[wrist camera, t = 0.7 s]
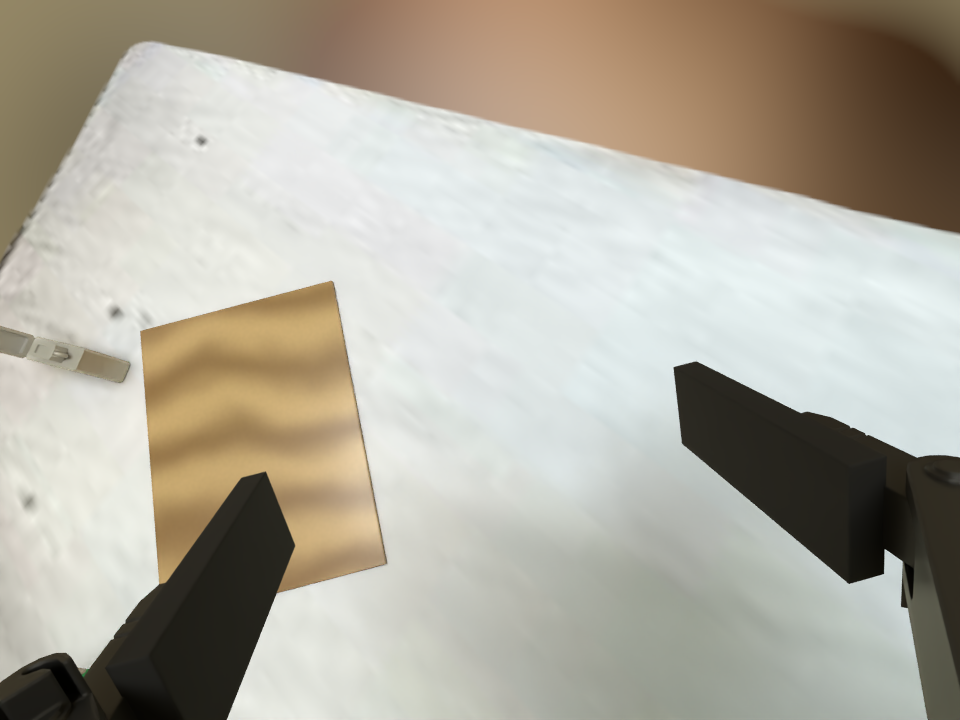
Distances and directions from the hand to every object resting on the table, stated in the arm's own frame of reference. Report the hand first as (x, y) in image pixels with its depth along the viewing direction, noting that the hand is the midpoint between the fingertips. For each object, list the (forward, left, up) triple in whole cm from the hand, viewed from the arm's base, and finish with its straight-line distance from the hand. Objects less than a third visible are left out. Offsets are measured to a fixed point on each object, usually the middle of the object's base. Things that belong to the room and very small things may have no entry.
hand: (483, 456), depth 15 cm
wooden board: (+7, +17, -20) cm, 27 cm away
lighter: (+16, +30, -21) cm, 40 cm away
